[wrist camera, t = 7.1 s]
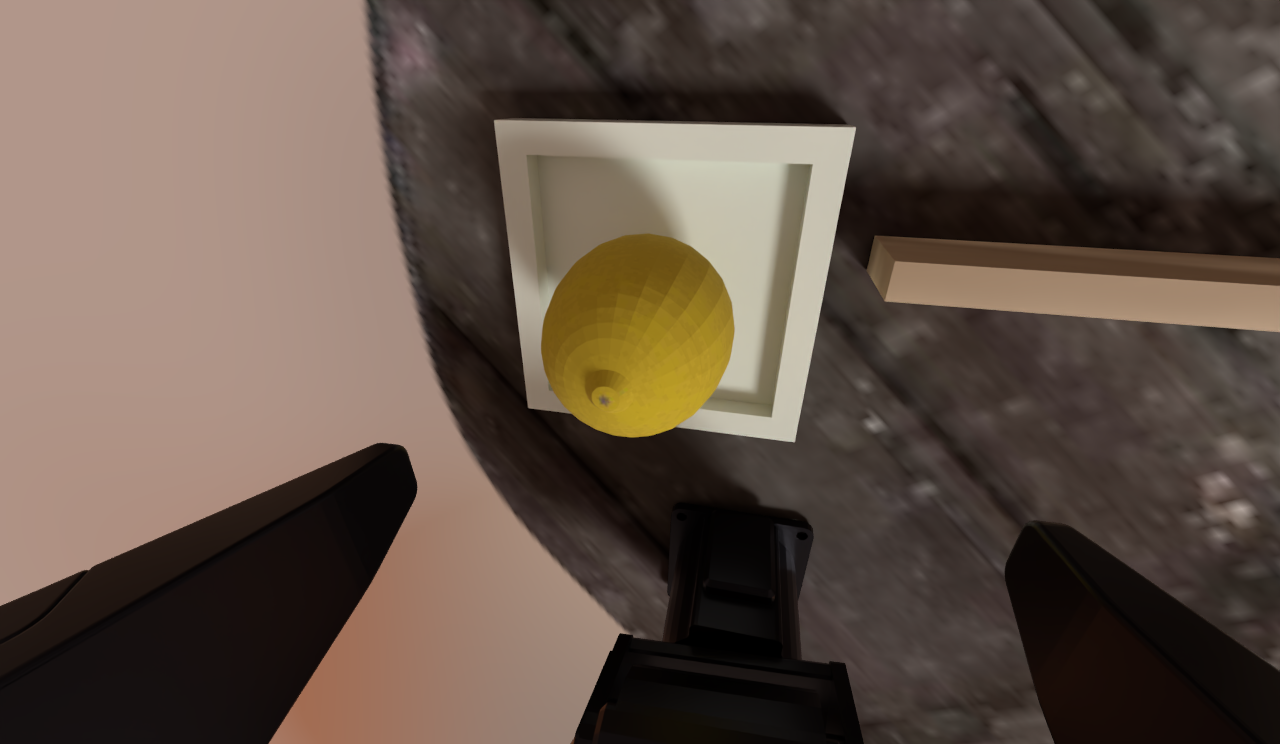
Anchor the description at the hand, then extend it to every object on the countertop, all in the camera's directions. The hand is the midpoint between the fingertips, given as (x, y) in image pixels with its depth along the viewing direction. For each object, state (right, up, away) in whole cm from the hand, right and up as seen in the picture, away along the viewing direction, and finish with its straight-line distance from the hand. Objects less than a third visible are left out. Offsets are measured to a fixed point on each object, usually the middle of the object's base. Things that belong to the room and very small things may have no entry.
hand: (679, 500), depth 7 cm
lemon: (0, +5, +11) cm, 12 cm away
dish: (0, +5, +12) cm, 13 cm away
